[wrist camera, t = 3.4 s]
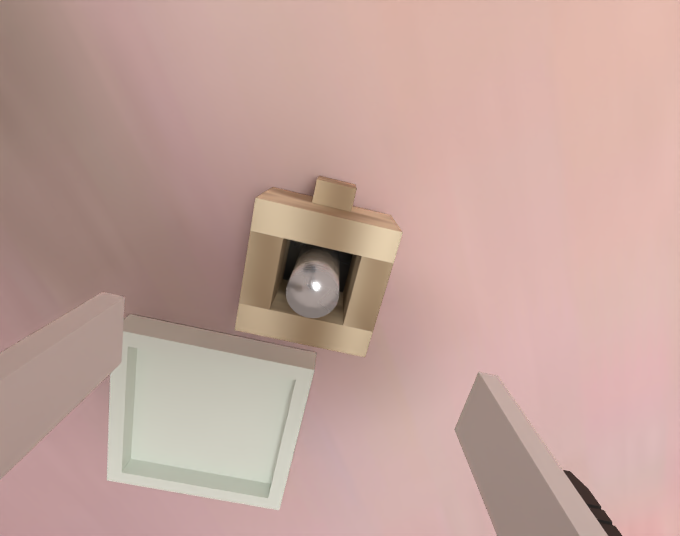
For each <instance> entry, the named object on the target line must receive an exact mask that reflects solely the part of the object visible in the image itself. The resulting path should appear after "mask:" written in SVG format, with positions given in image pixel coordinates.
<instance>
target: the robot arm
mask: <svg viewBox="0 0 680 536" xmlns="http://www.w3.org/2000/svg"><path fill="white" fill-rule="evenodd" d="M124 304H125V297H124V296H120V295H115V294H110V293H105V292H102V293H100V294H98V295H97V296H95V297H93V298H92V299H90V300H88V301H87V302H85V303H83V304H81V305H80V306H78V307H76V308H75V309H73V310H71V311H70V312H68V313H66V314H65V315H63V316H61V317H60V318H58V319H56V320H54V321H53V322H51V323H49V324H48V325H46V326H44V327H43V328H41V329H39V330H38V331H36V332H34V333H33V334H31V335H29V336H27V337H26V338H24V339H22V340H21V341H19V342H17V343H16V344H14V345H12V346H11V347H9V348H7V349H6V350H4V351H2V352H0V479H1V478H2V477H3V476H5V475H6V474H7V473H8V472H9V471H10V470H11V469H12V468H13V467H14V466H15V465H16V464H17V463H18V462H19V461H20V460H21V459H22V458H23V457H24V456H25V455H26V454H27V453H28V452H29V451H30V450H31V449H33V448H34V447H35V446H36V445H37V444H38V443H39V442H40V441H41V440H42V439H43V438H44V437H45V436H46V435H47V434H48V433H49V432H50V431H51V430H52V429H53V428H54V427H55V426H56V425H57V424H58V423H59V422H61V421H62V420H63V419H64V418H65V417H66V416H67V415H68V414H69V413H70V412H71V411H72V410H73V409H74V408H75V407H76V406H77V405H78V404H79V403H80V402H81V401H82V400H83V399H84V398H85V397H86V396H87V395H89V394H90V393H91V392H92V391H93V390H94V389H95V388H96V387H97V386H98V385H99V384H100V383H101V382H102V381H103V380H104V379H105V378H106V377H107V376H108V375H109V374H110V373H111V372H112V371H113V370H114V369H116V368H117V367H118V366H119V365H120V364H121V362H122V343H123V324H124ZM455 432H456V434H457V437H458V439H459V442H460V444H461V447H462V449H463V452H464V454H465V457H466V459H467V462H468V464H469V467H470V469H471V472H472V474H473V477H474V479H475V482H476V484H477V487H478V489H479V491H480V494H481V496H482V499H483V501H484V504H485V506H486V509H487V511H488V514H489V516H490V519H491V521H492V524H493V526H494V529H495V531H496V534H497V536H622V535H621V533H620V532H619V531H618V529H617V528H616V527H615V526H613V525H612V521H611V520H610V518H609V517H608V516H607V514H606V513H605V511H604V510H601V506H600V504H599V503H598V502H597V500H596V499H595V498H594V496H593V495H592V493H591V492H590V491H589V489H588V488H587V487H586V486H585V485H584V484H583V483H582V482H581V481H580V480H578V479H577V478H576V477H575V476H574V475H573V474H572V473H571V472H570V471H566V470H562V468H561V467H560V465H559V464H558V462H557V461H556V460H555V458H554V457H553V455H552V454H551V452H550V451H549V449H548V448H547V446H546V445H545V444H544V442H543V441H542V439H541V438H540V436H539V435H538V433H537V432H536V431H535V429H534V428H533V426H532V425H531V423H530V422H529V420H528V419H527V417H526V416H525V415H524V413H523V412H522V410H521V409H520V407H519V406H518V404H517V403H516V402H515V400H514V399H513V397H512V396H511V394H510V393H509V391H508V390H507V388H506V387H505V386H504V384H503V383H502V381H501V380H500V378H499V377H498V376H496V375H491V374H487V373H482V372H478V374H477V377H476V379H475V382H474V384H473V386H472V389H471V391H470V394H469V396H468V398H467V401H466V403H465V405H464V408H463V410H462V413H461V415H460V417H459V420H458V422H457V425H456V427H455Z"/></svg>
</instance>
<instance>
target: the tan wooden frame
mask: <svg viewBox="0 0 680 536" xmlns="http://www.w3.org/2000/svg"><path fill="white" fill-rule="evenodd" d="M356 190H357V188H356V185H355V184H351V183H347V182H343V181H339V180H335V179H330V178H326V177H322V176H319V177H318V178H317V181H316V186H315V190H314V195H313V196H308V195H304V194H300V193H296V192H292V191H287V190H283V189H279V188H275V187H272V188H271V189H269V190H267V191H266V192H264V193H262V194H261V195H259V196H257V197H256V198H255V204H254V210H253V217H252V223H251V229H250V236H249V242H248V248H247V255H246V261H245V267H244V273H243V280H242V286H241V292H240V299H239V305H238V311H237V318H236V324H235V330H236V331H241V332H246V333H251V334H255V335H260V336H265V337H270V338H275V339H279V340H284V341H289V342H294V343H299V344H303V345H308V346H313V347H318V348H323V349H327V350H332V351H337V352H342V353H347V354H351V355H356V356H361V357H365V356H366V353H367V349H368V346H369V343H370V339H371V336H372V333H373V329H374V326H375V323H376V319H377V316H378V313H379V309H380V306H381V303H382V299H383V296H384V293H385V290H386V286H387V283H388V280H389V276H390V273H391V270H392V266H393V263H394V260H395V256H396V253H397V250H398V246H399V243H400V240H401V236H402V233H403V232H402V231H401V229H400V228H399V226H398V225H397V224H396V222H395V221H394V219H393V218H392V216H391V215H388V214H384V213H380V212H375V211H371V210H367V209H363V208H359V207H354V206H353V202H354V198H355V194H356ZM291 240H294V241H298V242H302V243H307V244H311V245H315V246H320V247H324V248H328V249H333V250H337V251H342V252H346V253H350V254H353V256H352V260H351V263H350V267H349V271H348V275H347V279H346V283H345V286H344V290H343V292H339V299H338V302H337V305H336V306H335V308H334V309H333V310H332V311H331V312H330V313H328V314H327V315H325V316H323V317H319V318H307V317H304V316H301V315H299V314H297V313H296V312H295V311H294V310H293V309H292V308H291V307H290V305H289V304H288V302H287V298H286V288H287V284H288V282H289V280H284V279H283V276H284V271H285V266H286V261H287V256H288V251H289V246H290V241H291Z"/></svg>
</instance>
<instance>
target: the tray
mask: <svg viewBox="0 0 680 536" xmlns="http://www.w3.org/2000/svg"><path fill="white" fill-rule="evenodd" d="M315 361H316V352H311V351H306V350H301V349H296V348H292V347H287V346H282V345H277V344H272V343H268V342H263V341H258V340H253V339H248V338H243V337H239V336H234V335H229V334H224V333H219V332H215V331H210V330H205V329H200V328H195V327H190V326H186V325H181V324H176V323H171V322H166V321H162V320H157V319H152V318H147V317H142V316H137V315H133V314H130V315H128V316H127V317H126V318H125V319H124V324H123V343H122V362H121V364H120V365H119V366H118V367H117V368H116V369H114V370H113V371H112V372H111V373H110V394H109V426H108V458H107V480H108V481H114V482H119V483H125V484H131V485H137V486H142V487H148V488H154V489H160V490H165V491H171V492H177V493H183V494H188V495H194V496H200V497H206V498H211V499H217V500H223V501H229V502H234V503H240V504H246V505H252V506H257V507H263V508H269V509H275V510H279V509H280V505H281V501H282V497H283V493H284V489H285V485H286V481H287V477H288V473H289V469H290V466H291V462H292V458H293V454H294V450H295V446H296V442H297V438H298V434H299V430H300V426H301V422H302V418H303V414H304V410H305V406H306V402H307V398H308V394H309V390H310V386H311V382H312V378H313V374H314V370H315Z"/></svg>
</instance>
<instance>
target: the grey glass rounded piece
mask: <svg viewBox="0 0 680 536" xmlns="http://www.w3.org/2000/svg"><path fill="white" fill-rule="evenodd" d="M352 256H353V254H350V253H346V252H342V251H337V250H333V249H328V248H324V247H320V246H315V245H311V244H307V243H302V242H298V241H294V240H291V241H290V246H289V251H288V256H287V261H286V266H285V271H284V276H283V279H284V280H289V282H288V284H287V288H286V298H287V302H288V304H289V305H290V307H291V308H292V309H293V310H294V311H295V312H296V313H297V314H299V315H301V316H304V317H307V318H319V317H323V316H325V315H327V314H328V313H330V312H331V311H332V310H333V309H334V308H335V306H336V305H337V302H338V299H339V292H343V290H344V286H345V283H346V279H347V275H348V271H349V267H350V263H351V260H352Z"/></svg>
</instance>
